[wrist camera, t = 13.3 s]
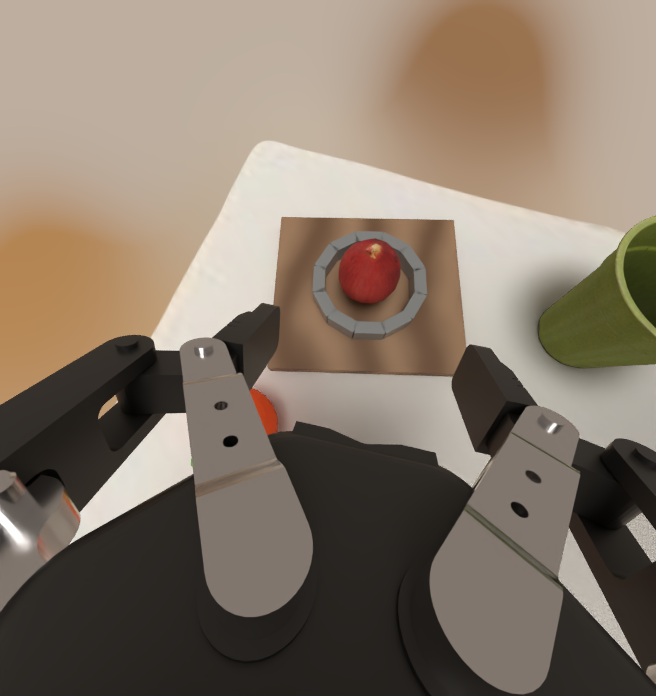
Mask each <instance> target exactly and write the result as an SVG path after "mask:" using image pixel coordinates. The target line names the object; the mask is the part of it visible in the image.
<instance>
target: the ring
mask: <svg viewBox="0 0 656 696" xmlns="http://www.w3.org/2000/svg"><path fill="white" fill-rule="evenodd" d="M373 238H376V239H379V240H382V241H385V242H387V243H388V244H389V245H390V246H391V247H393V248H394V249H395V251H396V253H397V255H398V257H399V260H400V263H401V270H402V271H403V272H404V274H405V275H406V277H407V278H408V280H409V302H408V303H407V305H406V307H405V308H404V310H403V311H402V312H400V313H398V314H396V315H395V316H393V317H391V318H389V319H387V320H385V321H383V322H365V321H356V320H354V319H352V318H351V317H349V316H347V315H345V314H344V313H342V312H340V311H338V310H337V309H336V308H335V307H334V305H333V303H332V302H331V300H330V298H329V296H328V295H327V293H326V291H325V288H326V277H327V276H328V274H329V273H330V271H331V270H332V268H333V267H334V265H335V264H336V263H337V261H339V260H341V259H342V257H343V255H344V253H345V252H346V251H347V250H348V249H349V248H350V247H351V246H352V245H353V244H355V243H357V242H360V241H363V240H367V239H373ZM408 245H409V244H407V243H405V242H403V241H401V240H399V239H397V238H395V237H393V236H391V235H389V234H387V233H385V232H384V233H383V232H377V231H356V232H352V233H350V234H348V235H346V236H343V237H341V238H339V239H337V240H335V241H333V242H331V243H330V244H329V245H328V246H327V247H326V249H325V250H324V252H323V253H322V254H321V256H320V257H319V259H318V260H317V261H316V263H315V264H314V272H313V291H312V292H313V298H314V302H315V304H316V305H317V307H318V309H319V311H320V313H321V314H322V316H323V318H324V320H325V321H326V323H328V325H329V326H331V327H333V328H334V329H336V330H338V331H339V332H341V333H343V334H345V335H346V336H348V337H350V338H351V339H352V337H353V339H371V340H381V339H385V338H386V337H388V336H390V335H392V334H394V333H396V332H398V331H400V330H402V329H404V328H405V327H407V326H408V325H409V324H410V322H411V321H412V320H413V319H414V317H415V315H416V313H417V312H418V310H419V308H420V306H421V305H422V303H423V301H424V300H425V298H426V296H427V284H426V268H425V266H424V265H423V263H422V262H421V260H420V259H419V258H418V256H417V255H416V253H415V252H414V251H413V249H412V248H411V246H410V245H409V246H408Z"/></svg>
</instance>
